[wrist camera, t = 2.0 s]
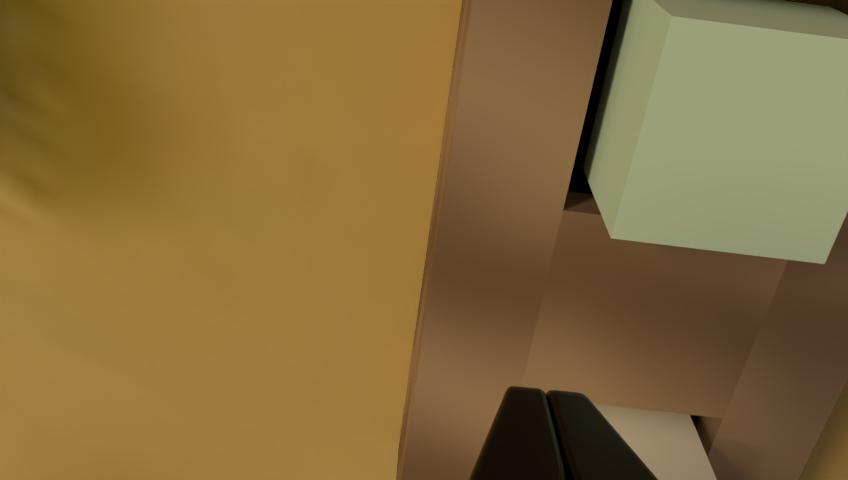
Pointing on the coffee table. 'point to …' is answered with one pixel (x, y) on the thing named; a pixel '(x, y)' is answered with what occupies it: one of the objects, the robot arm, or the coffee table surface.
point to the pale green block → (725, 127)
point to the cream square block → (662, 442)
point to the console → (596, 278)
